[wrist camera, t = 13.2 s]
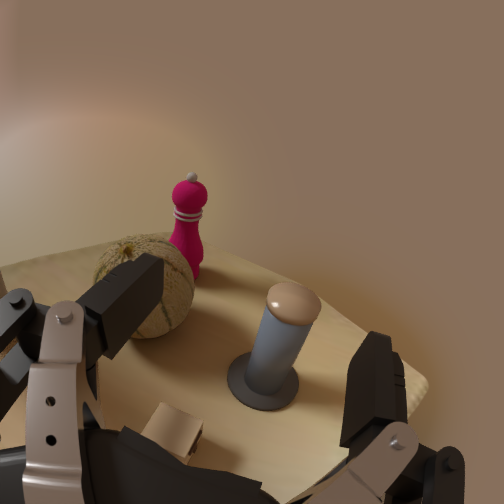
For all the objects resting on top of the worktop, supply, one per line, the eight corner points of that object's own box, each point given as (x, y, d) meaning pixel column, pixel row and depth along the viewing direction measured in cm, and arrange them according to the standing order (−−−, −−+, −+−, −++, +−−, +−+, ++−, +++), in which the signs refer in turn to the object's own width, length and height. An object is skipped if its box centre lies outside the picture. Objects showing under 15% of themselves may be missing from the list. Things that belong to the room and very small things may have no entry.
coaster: (216, 395, 34) (217, 393, 34) (240, 345, 43) (241, 342, 43) (289, 419, 33) (290, 417, 33) (302, 365, 41) (304, 363, 41)
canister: (237, 387, 35) (261, 306, 28) (250, 357, 40) (274, 276, 33) (279, 401, 35) (318, 325, 27) (287, 370, 40) (323, 292, 32)
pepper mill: (178, 258, 60) (187, 164, 50) (208, 271, 58) (222, 173, 48) (156, 273, 54) (161, 171, 44) (187, 289, 52) (198, 182, 42)
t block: (144, 450, 25) (139, 435, 23) (163, 419, 30) (161, 401, 27) (186, 470, 25) (187, 458, 22) (203, 437, 29) (205, 421, 26)
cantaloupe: (205, 311, 48) (216, 232, 40) (163, 375, 35) (161, 290, 28) (133, 282, 50) (131, 205, 43) (82, 331, 38) (63, 246, 30)
